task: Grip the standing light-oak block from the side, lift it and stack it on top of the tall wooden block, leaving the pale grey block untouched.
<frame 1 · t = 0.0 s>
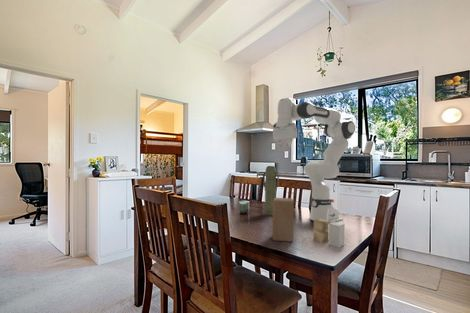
hand: (284, 146, 156), 48 cm above the table, tool pointing down, fingers open, 8 cm apart
oak block: (320, 240, 127), on the table
block: (282, 239, 129), on the table
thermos: (270, 214, 184), on the table
grey block: (336, 244, 121), on the table
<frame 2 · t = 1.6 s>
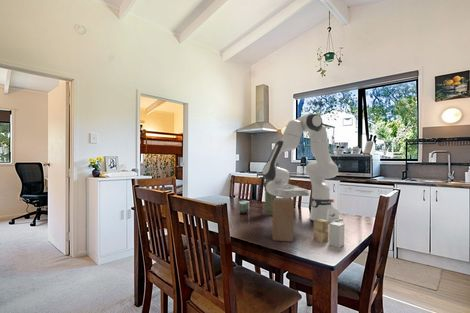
hand: (302, 194, 140), 21 cm above the table, tool horizontal, fingers open, 8 cm apart
nothing on the table moved.
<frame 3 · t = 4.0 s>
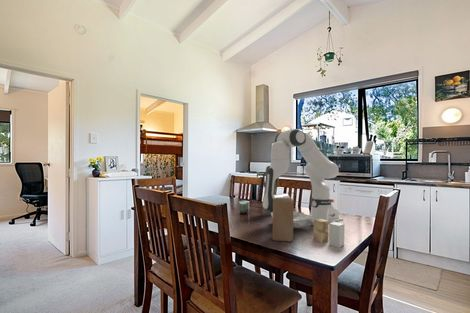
hand: (307, 224, 135), 6 cm above the table, tool horizontal, fingers open, 8 cm apart
nothing on the table moved.
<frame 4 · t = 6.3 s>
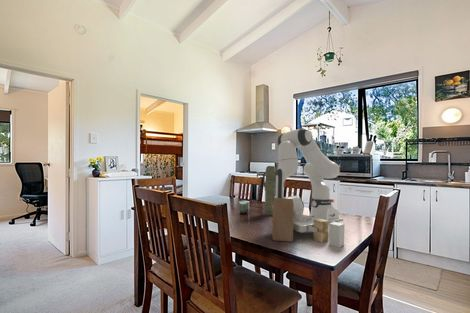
hand: (322, 229, 126), 6 cm above the table, tool horizontal, fingers closed on oak block, 5 cm apart
oak block: (320, 240, 127), on the table, touching gripper
everything else where it was.
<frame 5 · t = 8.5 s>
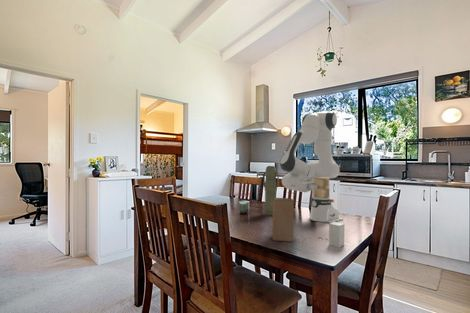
hand: (322, 186, 126), 27 cm above the table, tool horizontal, fingers closed on oak block, 5 cm apart
oak block: (321, 197, 127), point 21 cm above the table, touching gripper
everything else where it was.
when the fingers open (26 cm above the table, at t = 10.7 s): oak block drops 1 cm, resting on block.
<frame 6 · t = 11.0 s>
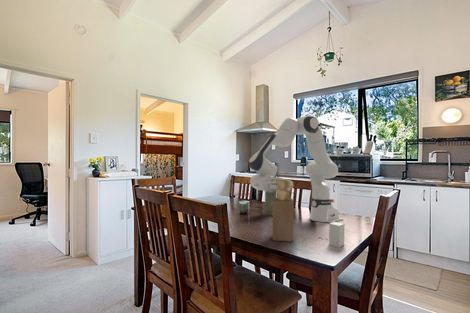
hand: (284, 186, 128), 26 cm above the table, tool horizontal, fingers open, 8 cm apart
oak block: (283, 199, 129), point 20 cm above the table, touching block
block: (282, 239, 129), on the table, touching oak block
everything else where it was.
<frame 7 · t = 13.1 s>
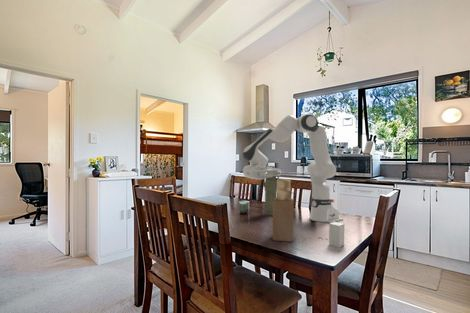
hand: (272, 173, 142), 32 cm above the table, tool horizontal, fingers open, 8 cm apart
nothing on the table moved.
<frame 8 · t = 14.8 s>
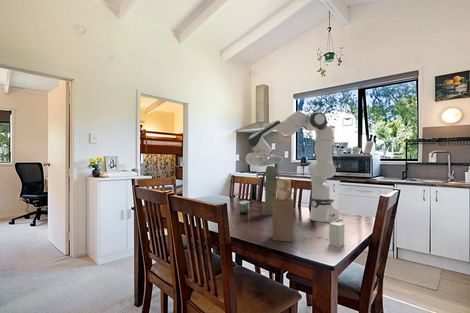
hand: (274, 159, 146), 40 cm above the table, tool horizontal, fingers open, 8 cm apart
nothing on the table moved.
at the end: oak block point 19.9 cm above the table; oak block 0.1 cm from the block (horizontally); oak block tilted 0° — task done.
